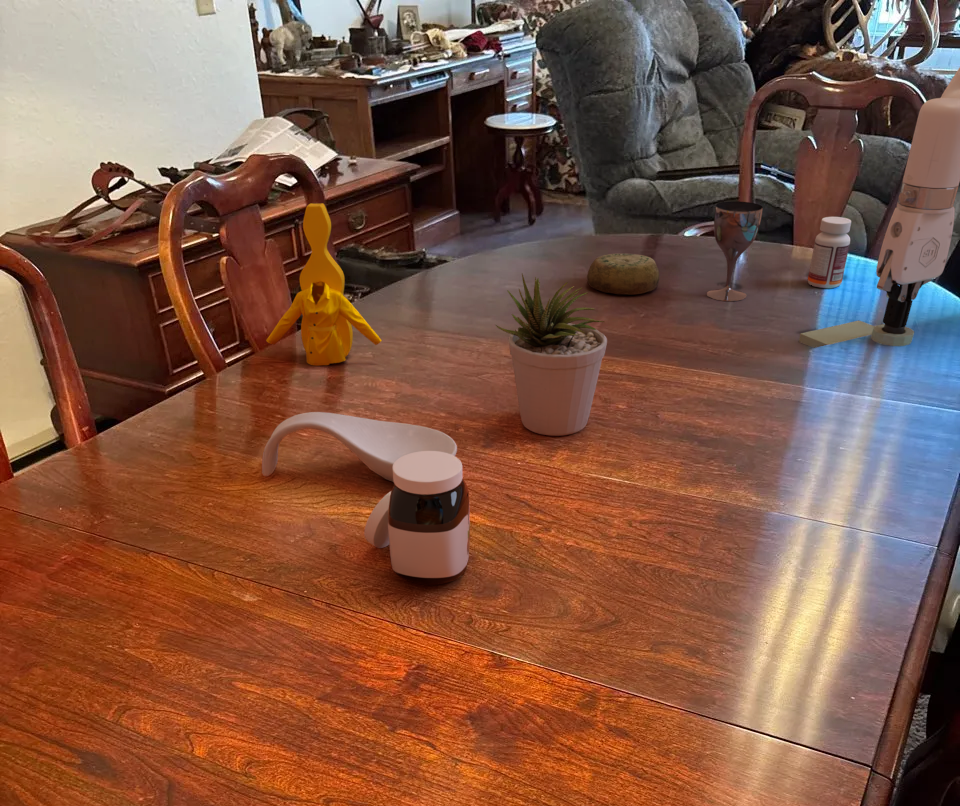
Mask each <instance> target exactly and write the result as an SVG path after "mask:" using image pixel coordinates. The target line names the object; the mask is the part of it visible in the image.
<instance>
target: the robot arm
mask: <svg viewBox="0 0 960 806" xmlns="http://www.w3.org/2000/svg"><path fill="white" fill-rule="evenodd" d="M902 177H903V178H902V181H901V186H900V191H899V195H898V197H897V203H896V207H895V208H894V210H893V213H892V215H891V217H890V220H889V223H888V226H887V228H886V231H885V234H884V237H883V240H882V244H881V248H880V252H879V255H878V259H877V264H876V273H875V274H876V276H877V278H879V279H878V281H877V284H876V289H878V290H881V291H883V292H885V293H886V295H885V296H886V298H888V299H887V303H886V306H885V310H884V316H883V318H882V324H887V325H890V326H893V327H895V328H900V327H904V326H905V327H907V325H908V324H907V323H908V321H909V316H910V312H911V309H912V304H913V301H914V300H915V299H917V296H918V294H919V291H920V289H921V288H923V286H924V285H926V284H928V283H930V282H931V281H932V280H934V279H936V278H938V277H940V276H941V275H942V274H943V272H944V270H945V266H946V263H947V259H948V255H949V251H950V246H951V242H952V237H953V236H952V235H953V233H954V232H953V231H954V225H955V212H956V208H955V206H954V203H955V200H956V196H957V193H958V189H959V185H960V67H958V69H957V70H956V72H955V74H954V75H953V76H952V78H951V80H950V82H949V83H948V84H947V86H946V88H945V89H944V91H943V93H942V94H941V97H936V98H932V99H929V100H927V101H925V102H924V103H923V104H922V105H921V107H920V109H919V112H918V116H917V120H916V124H915V128H914V131H913V136H912V140H911V144H910V149H909V152H908V157H907V161H906V165H905V170H904V173H903V176H902Z"/></svg>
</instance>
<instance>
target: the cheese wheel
mask: <svg viewBox="0 0 960 806" xmlns="http://www.w3.org/2000/svg"><path fill="white" fill-rule="evenodd" d="M586 281H587V284H588V285H589V286H590V287H591V288H592V289H594V290H597V291H600V292H602V293H605V294H614V295H629V296H632V295H641V294H642V295H643V294H645V293H649V292H651V291H654V290H655V289H656V288H657V287H658V285H659V283H660V272H659V268H658V266H657V263H656V261H655V260H654V259H653V258H651V257H650V256H647V255H643V254H638V253H608V254H603V255H600V256H597V257H596V258H595V259H594V260H593V261H592V262H591V264H590V265H589V268H588V271H587V274H586Z"/></svg>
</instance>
